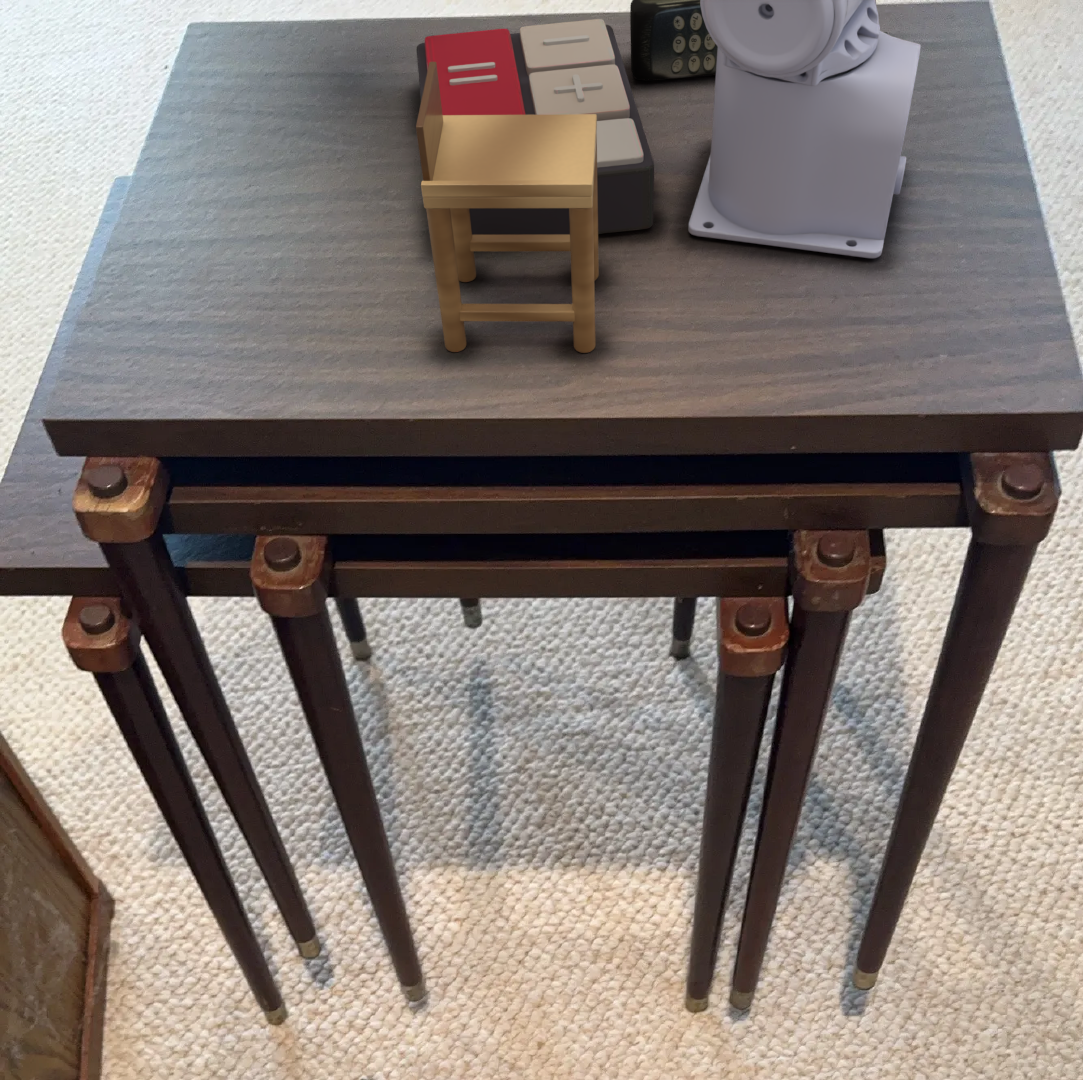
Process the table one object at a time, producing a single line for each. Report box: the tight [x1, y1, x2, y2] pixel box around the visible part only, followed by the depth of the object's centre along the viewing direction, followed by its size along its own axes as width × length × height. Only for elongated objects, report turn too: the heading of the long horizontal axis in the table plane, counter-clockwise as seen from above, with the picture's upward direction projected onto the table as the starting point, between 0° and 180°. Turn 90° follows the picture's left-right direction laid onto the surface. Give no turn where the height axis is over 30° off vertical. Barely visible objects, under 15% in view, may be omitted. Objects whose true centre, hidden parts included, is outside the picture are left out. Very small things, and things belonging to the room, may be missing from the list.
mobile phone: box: [629, 0, 889, 82], centre depth 72 cm, size 5×3×15 cm
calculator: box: [416, 18, 655, 235], centre depth 67 cm, size 11×4×15 cm
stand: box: [425, 134, 600, 354], centre depth 58 cm, size 7×6×8 cm
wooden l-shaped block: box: [415, 62, 597, 210], centre depth 54 cm, size 7×6×4 cm
